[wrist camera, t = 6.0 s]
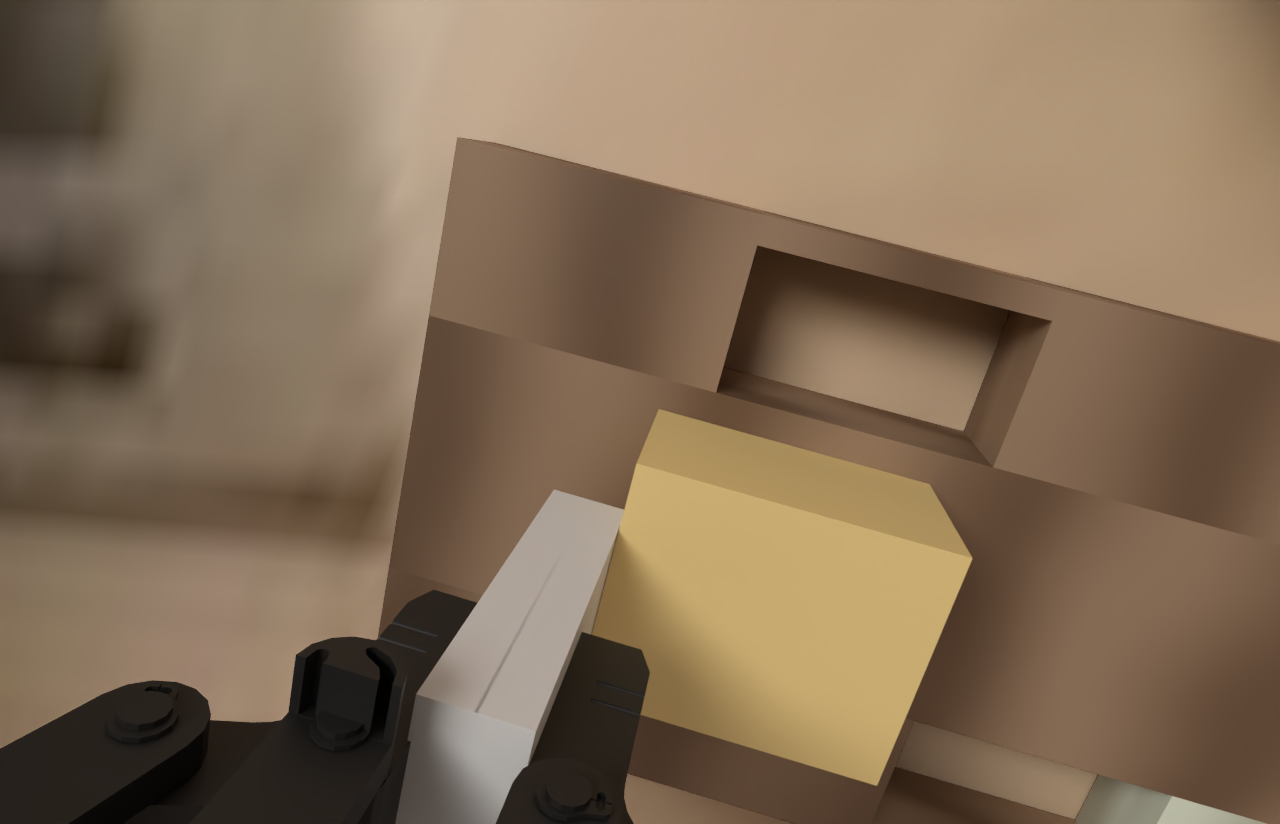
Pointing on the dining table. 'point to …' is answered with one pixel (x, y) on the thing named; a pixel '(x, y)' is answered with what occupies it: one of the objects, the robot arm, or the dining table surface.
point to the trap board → (940, 456)
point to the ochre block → (779, 593)
